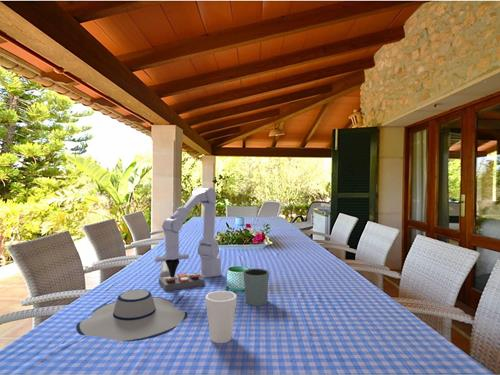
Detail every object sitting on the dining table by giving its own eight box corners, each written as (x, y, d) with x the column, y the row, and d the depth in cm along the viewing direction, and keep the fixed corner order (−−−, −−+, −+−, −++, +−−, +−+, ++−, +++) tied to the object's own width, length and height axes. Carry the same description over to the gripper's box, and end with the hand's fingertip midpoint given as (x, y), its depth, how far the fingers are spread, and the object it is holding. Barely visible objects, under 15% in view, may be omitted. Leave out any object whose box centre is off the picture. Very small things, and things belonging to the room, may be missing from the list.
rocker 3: (196, 276, 160) (196, 274, 160) (200, 276, 155) (200, 274, 155) (189, 277, 159) (189, 274, 159) (193, 277, 153) (192, 275, 154)
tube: (172, 272, 163) (172, 259, 188) (161, 269, 162) (162, 256, 186) (168, 282, 163) (169, 268, 187) (157, 279, 162) (159, 266, 186)
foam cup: (206, 331, 109) (206, 291, 108) (235, 330, 109) (235, 290, 109) (205, 346, 99) (204, 302, 99) (236, 345, 100) (236, 301, 99)
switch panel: (196, 278, 166) (196, 271, 166) (204, 285, 155) (204, 278, 155) (158, 283, 158) (158, 276, 158) (165, 290, 147) (165, 283, 147)
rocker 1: (173, 279, 155) (173, 277, 155) (176, 279, 150) (176, 277, 150) (165, 280, 154) (165, 278, 154) (168, 280, 148) (168, 278, 148)
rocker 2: (185, 274, 158) (185, 272, 158) (188, 281, 153) (189, 279, 152) (177, 275, 156) (177, 273, 156) (180, 282, 151) (181, 280, 151)
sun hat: (94, 304, 134) (94, 280, 134) (187, 298, 140) (187, 276, 140) (59, 349, 99) (59, 317, 98) (186, 339, 105) (186, 310, 104)
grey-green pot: (250, 308, 128) (250, 276, 128) (239, 299, 137) (239, 270, 136) (273, 303, 133) (273, 273, 132) (261, 295, 142) (261, 267, 141)
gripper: (157, 249, 143) (157, 281, 143) (190, 246, 149) (191, 276, 150) (153, 246, 149) (154, 277, 149) (186, 243, 155) (186, 272, 156)
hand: (172, 276), depth 150 cm, fingers closed
